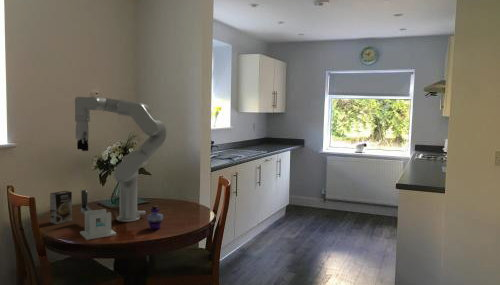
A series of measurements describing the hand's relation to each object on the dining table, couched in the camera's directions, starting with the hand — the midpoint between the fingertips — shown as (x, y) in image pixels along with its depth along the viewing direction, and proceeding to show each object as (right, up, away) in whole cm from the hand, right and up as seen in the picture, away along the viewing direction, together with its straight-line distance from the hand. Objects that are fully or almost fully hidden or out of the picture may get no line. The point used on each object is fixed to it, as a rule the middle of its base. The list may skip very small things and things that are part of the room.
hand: (82, 150), depth 225 cm
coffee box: (-9, -39, -6) cm, 40 cm away
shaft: (+9, -34, -15) cm, 38 cm away
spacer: (+17, -38, -25) cm, 49 cm away
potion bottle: (+44, -41, -15) cm, 62 cm away
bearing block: (+18, -41, -26) cm, 52 cm away
